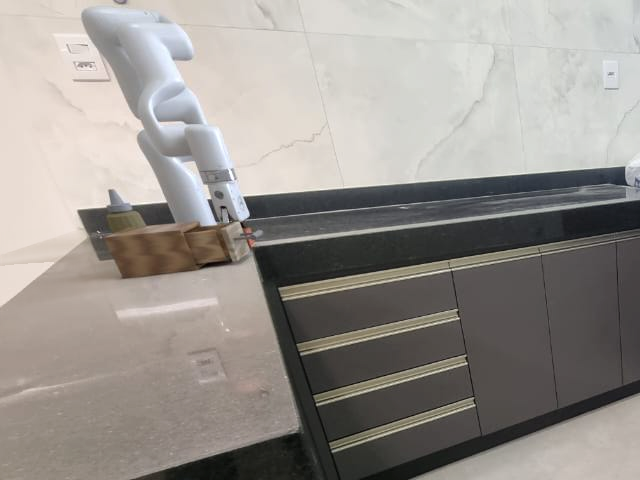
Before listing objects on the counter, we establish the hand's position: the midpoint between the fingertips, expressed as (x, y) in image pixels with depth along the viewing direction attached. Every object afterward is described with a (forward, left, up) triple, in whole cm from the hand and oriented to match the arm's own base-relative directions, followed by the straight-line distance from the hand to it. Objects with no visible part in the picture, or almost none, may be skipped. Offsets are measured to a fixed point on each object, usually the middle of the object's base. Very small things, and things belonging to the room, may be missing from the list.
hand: (243, 245), depth 146 cm
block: (0, 0, 0) cm, 0 cm away
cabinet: (+14, -13, -1) cm, 19 cm away
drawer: (+14, -1, 0) cm, 14 cm away
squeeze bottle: (-1, -24, -1) cm, 24 cm away
